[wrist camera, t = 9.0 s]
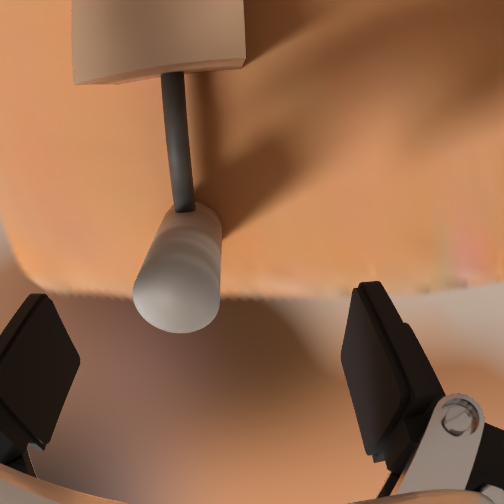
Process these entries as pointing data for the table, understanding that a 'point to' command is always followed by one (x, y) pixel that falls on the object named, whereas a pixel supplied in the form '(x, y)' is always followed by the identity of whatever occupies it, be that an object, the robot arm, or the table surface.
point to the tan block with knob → (167, 132)
